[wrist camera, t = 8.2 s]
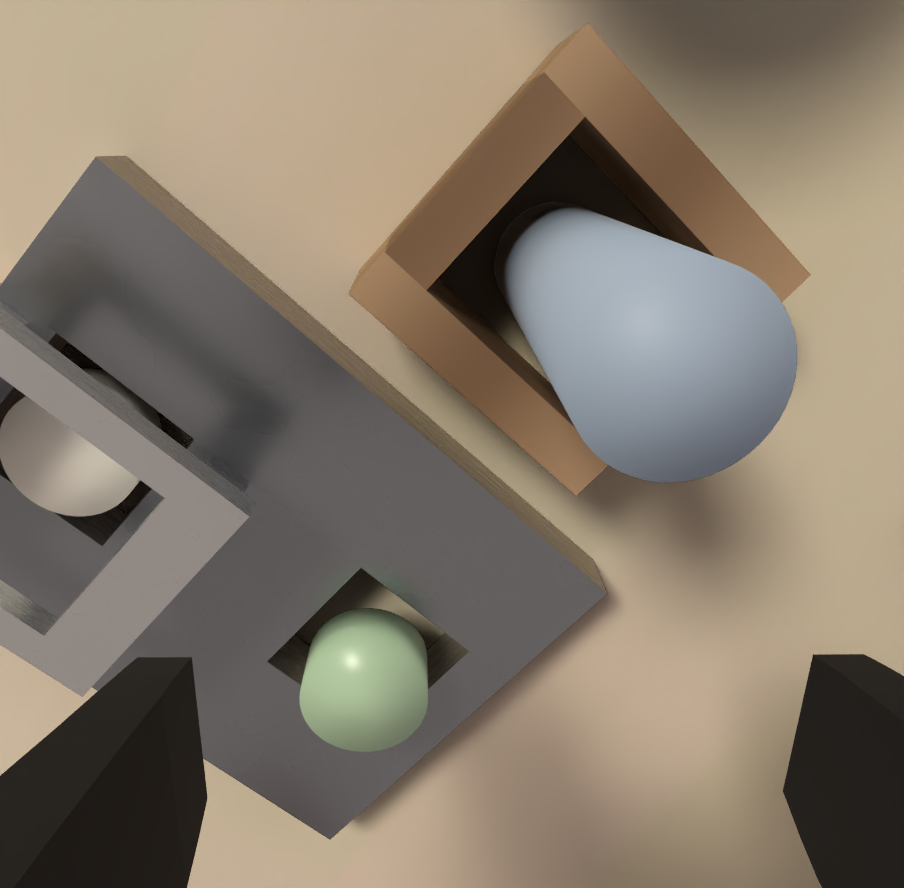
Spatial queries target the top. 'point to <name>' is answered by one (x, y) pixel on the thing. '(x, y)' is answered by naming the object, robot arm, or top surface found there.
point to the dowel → (648, 341)
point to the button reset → (65, 457)
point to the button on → (365, 680)
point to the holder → (492, 185)
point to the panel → (249, 499)
